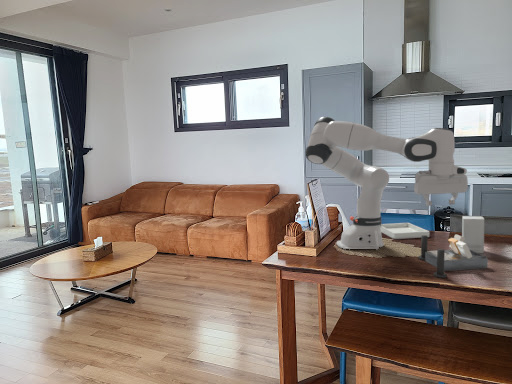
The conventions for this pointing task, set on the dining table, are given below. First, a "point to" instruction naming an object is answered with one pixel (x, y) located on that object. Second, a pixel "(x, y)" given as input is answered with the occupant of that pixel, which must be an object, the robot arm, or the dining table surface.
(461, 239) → the paddle
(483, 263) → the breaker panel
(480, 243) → the skincare box
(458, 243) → the paddle
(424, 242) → the cord posts
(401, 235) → the tray
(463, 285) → the dining table surface
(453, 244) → the paddle amber
